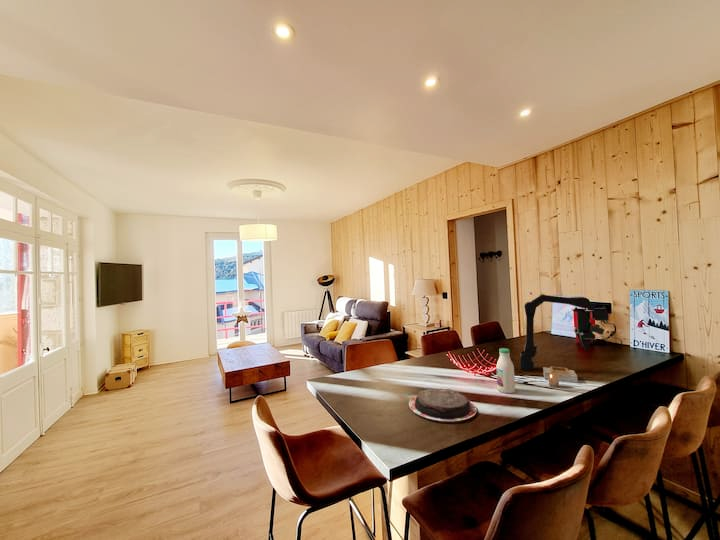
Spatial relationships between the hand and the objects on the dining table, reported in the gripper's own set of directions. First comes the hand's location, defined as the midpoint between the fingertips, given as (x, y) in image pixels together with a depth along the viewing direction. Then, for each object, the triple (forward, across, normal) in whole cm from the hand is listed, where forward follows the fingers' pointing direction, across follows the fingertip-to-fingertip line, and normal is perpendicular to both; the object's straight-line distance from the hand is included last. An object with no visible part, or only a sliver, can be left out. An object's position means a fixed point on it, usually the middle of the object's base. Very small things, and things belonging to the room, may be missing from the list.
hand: (585, 348), depth 157 cm
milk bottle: (+15, -40, +38) cm, 57 cm away
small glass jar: (+15, -24, +17) cm, 33 cm away
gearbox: (+15, -10, +13) cm, 22 cm away
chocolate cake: (+15, -71, +62) cm, 96 cm away
